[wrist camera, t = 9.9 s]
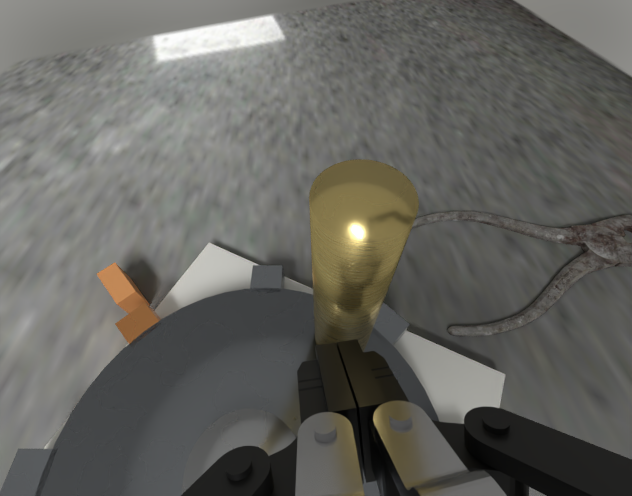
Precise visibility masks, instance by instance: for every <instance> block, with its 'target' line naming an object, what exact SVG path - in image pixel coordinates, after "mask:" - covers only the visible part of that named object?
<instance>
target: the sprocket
mask: <svg viewBox="0 0 632 496" xmlns="http://www.w3.org/2000/svg"><path fill="white" fill-rule="evenodd" d="M309 202H310V226H311V251H312V275H313V295H312V294H309V293H306V292H300V291H295V290H289V289H284V279H285V276H284V271H283V266H282V265H253V268H252V276H251V284H250V289H241V290H235V291H230V292H224V293H221V294H218V295H214V296H211V297H207V298H204V299H202V300H199V301H197V302H194V303H192V304H190V305H187V306H185V307H183V308H181V309H179V310H177V311H175V312H174V313H172V314H170V315H168V316H166V317H164V318H163V319H160V317H159V316H158V315H157V313H156V312H155V311H154V310H153V309H151V308H150V307H149V306H148V305H147V304H146V303H143V304H142V305H141V306H139V307H138V308H137V309H135V310H134V311H132V312H131V313H130V314H128V315H127V316H126V317H124V318H123V319H121V320H120V321H119V322H117V323H116V326H117V327H118V329H119V330H120V332H121V333H122V334H123V336H124V337H125V339H126V340H127V342H128V343H129V344H128V345H127V346H126V347H125V348H124V349H123V350H122V351H121V352H120V353H119V354H118V355H117V356H116V357H115V358H114V359H113V360H112V361H111V362H110V363H109V364H108V365H107V366H106V367H105V368H104V369H103V371H102V372H101V373H100V374H99V376H98V377H97V378H96V379H95V381H94V382H93V383H92V384H91V385H90V387H89V388H88V389H87V391H86V392H85V394H84V395H83V397H82V398H81V400H80V401H79V403H78V404H77V406H76V407H75V409H74V410H73V411H72V413H71V415H70V416H69V418H68V420H67V422H66V424H65V426H64V427H63V429H62V431H61V433H60V435H59V437H58V438H57V440H56V442H55V445H54V447H53V449H18V451H17V453H16V456H15V458H14V461H13V463H12V465H11V468H10V470H9V472H8V475H7V477H6V480H5V482H4V484H3V487H2V489H1V491H0V496H181V495H182V494H183V493H184V492H185V491H186V490H187V489H188V488H189V487H190V486H191V485H192V484H193V483H194V482H195V481H196V480H197V479H198V478H199V477H200V476H201V475H202V474H204V473H205V472H206V471H207V470H208V469H209V468H210V467H211V466H212V465H213V464H214V463H215V462H216V461H217V460H218V459H219V458H220V457H221V456H222V455H224V454H225V453H227V452H228V451H230V450H232V449H235V448H237V447H241V446H257V447H259V448H261V449H263V450H264V451H265V452H266V453H267V454H268V456H270V455H272V454H274V453H276V452H278V451H280V450H282V449H284V448H286V447H287V446H289V445H290V444H291V443H292V442H293V441H294V440H295V439H296V437H297V436H298V430H299V428H300V426H301V418H300V405H299V392H298V378H297V370H298V369H299V367H300V365H301V363H302V362H304V361H311V360H317V358H316V350H315V345H320V344H327V343H334V342H335V343H337V342H340V341H347V340H353V339H357V340H358V342H359V344H360V347H361V349H362V351H363V352H369V351H375V352H377V353H378V354H380V355H381V356H383V357H384V358H385V360H386V362H387V363H388V365H389V368H390V369H391V370H392V372H393V374H394V376H395V377H396V379H397V381H398V383H399V384H400V386H401V388H402V390H403V391H404V393H405V395H406V397H407V398H408V400H409V402H410V403H413V404H415V405H417V406H419V407H420V408H422V409H423V410H424V411H425V412H426V414H427V415H428V416H429V418H430V419H432V420H435V421H439V419H438V416H437V414H436V412H435V410H434V407H433V405H432V403H431V401H430V399H429V397H428V395H427V393H426V391H425V389H424V387H423V386H422V384H421V383H420V381H419V379H418V378H417V376H416V375H415V373H414V371H413V370H412V368H411V367H410V366H409V364H408V363H407V362H406V361H405V359H404V358H403V357H402V356H401V354H400V353H399V352H398V350H397V349H396V348H395V347H394V344H395V343H396V342H397V341H398V340H399V339H400V338H401V337H402V335H403V334H404V333H405V331H406V330H407V328H408V327H409V325H410V324H409V323H408V322H406V321H405V320H404V319H403V318H402V317H401V316H399V315H398V314H397V313H396V312H395V311H393V310H392V309H391V308H390V307H389V306H387V305H386V304H385V303H383V301H384V298H385V296H386V293H387V291H388V288H389V285H390V283H391V280H392V278H393V275H394V272H395V270H396V267H397V265H398V262H399V259H400V257H401V254H402V252H403V249H404V246H405V244H406V241H407V239H408V236H409V233H410V231H411V228H412V226H413V223H414V220H415V218H416V215H417V212H418V207H419V200H418V195H417V192H416V190H415V188H414V186H413V184H412V183H411V181H410V180H409V179H408V178H407V177H406V176H405V175H404V174H403V173H401V172H400V171H398V170H397V169H395V168H393V167H391V166H389V165H387V164H384V163H381V162H377V161H372V160H349V161H344V162H340V163H337V164H335V165H333V166H331V167H329V168H327V169H326V170H324V171H323V172H322V173H321V174H320V175H319V176H318V177H317V178H316V179H315V181H314V182H313V185H312V187H311V190H310V196H309ZM439 422H440V421H439ZM363 479H364V484H363V490H364V495H365V496H380V494H379V489H378V486H377V483H376V481H374V482H368V483H366V480H365V476H364V473H363Z"/></svg>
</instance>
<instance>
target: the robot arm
mask: <svg viewBox="0 0 632 496" xmlns="http://www.w3.org/2000/svg"><path fill="white" fill-rule="evenodd" d="M315 350H316V358H317V360H311V361H304V362H302V363H301V365H300V367H299V369H298V370H297V378H298V392H299V405H300V418H301V426H300V428H299V430H298V436H297V437H296V439H295V440H294V441H293V442H292V443H291V444H290V445H289V446H287V447H286V448H284V449H282V450H280V451H278V452H276V453H274V454H272V455H270V456H268V454H267V453H266V452H265V451H264V450H263V449H261V448H259V447H257V446H241V447H237V448H235V449H232V450H230V451H228V452H227V453H225V454H224V455H222V456H221V457H220V458H219V459H218V460H217V461H216V462H215V463H214V464H213V465H212V466H211V467H210V468H209V469H208V470H207V471H206V472H205V473H204V474H202V475H201V476H200V477H199V478H198V479H197V480H196V481H195V482H194V483H193V484H192V485H191V486H190V487H189V488H188V489H187V490H186V491H185V492H184V493H183V494H182V495H181V496H365V495H364V490H363V484H364V479H363V473H364V476H365V480H366V483H368V482H374V481H376V483H377V486H378V489H379V494H380V496H529V487H531V488H533V489H535V490H537V491H539V492H541V493H543V494H545V495H547V496H632V460H631V459H629V458H626V457H624V456H621V455H619V454H616V453H613V452H611V451H608V450H606V449H603V448H601V447H598V446H596V445H593V444H590V443H588V442H585V441H583V440H580V439H578V438H575V437H573V436H570V435H567V434H565V433H562V432H560V431H557V430H555V429H552V428H549V427H547V426H544V425H542V424H539V423H537V422H534V421H532V420H529V419H526V418H524V417H521V416H519V415H516V414H514V413H511V412H509V411H506V410H503V409H500V408H496V407H487V406H484V407H477V408H474V409H471V410H470V411H468V412H467V413H466V415H465V417H464V424H460V423H447V422H439V421H435V420H432V419H430V418H429V416H428V415H427V414H426V412H425V411H424V410H423V409H422V408H420V407H419V406H417V405H415V404H413V403H410V402H409V400H408V398H407V397H406V395H405V393H404V391H403V390H402V388H401V386H400V384H399V383H398V381H397V379H396V377H395V376H394V374H393V372H392V370H391V369H390V368H389V365H388V363H387V362H386V360H385V358H384V357H383V356H381V355H380V354H378V353H377V352H375V351H369V352H363V351H362V349H361V347H360V344H359V342H358V340H357V339H353V340H347V341H340V342H337V343H335V342H334V343H327V344H320V345H315Z"/></svg>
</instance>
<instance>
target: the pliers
mask: <svg viewBox="0 0 632 496" xmlns="http://www.w3.org/2000/svg"><path fill="white" fill-rule="evenodd" d="M452 220H465V221H474V222H481V223H485V224H489V225H493V226H497V227H501V228H504V229H508V230H511V231H515V232H518V233H521V234H524V235H528V236H531V237H535V238H538V239H542V240H547V241H552V242H557V243H564V244H571V245H578V246H581V248H582V249H583V251H584V252H585V253H584V254H582V255H580V256H579V257H577V258H576V259H574V260H573V261H572V262H570V263H569V264H568V265H567V266H565V267H564V268H563V269H562V270H561V271H560V272H559V273H558V274H557V275H556V276H555V278H554V279H553V280H552V281H551V283H550V284H549V285H548V287H547V288H546V289H545V290H544V291H543V292H542V294H541V295H540V296H539V297H538V298H537V299H536V300H535V301H534V302H533V303H532V304H531V305H530V306H529V307H528V308H527V309H525V310H524V311H522V312H521V313H519V314H517V315H515V316H513V317H510V318H508V319H505V320H502V321H498V322H494V323H491V324H484V325H475V326H450V327H449V328H448V329H447V331H448V333H450V334H451V335H456V336H484V335H493V334H497V333H502V332H506V331H510V330H513V329H516V328H519V327H522V326H524V325H526V324H528V323H530V322H532V321H533V320H535V319H537V318H538V317H540V316H541V315H542V314H543V313H544V312H546V311H547V310H548V309H549V308H550V307H551V306H552V305H553V304H554V303H555V302H556V301H557V300H558V299H559V298H560V297H561V296H562V295H563V294H564V293H565V292H566V291H567V290H568V289H569V288H570V287H571V286H572V285H573V284H574V283H575V282H576V281H577V280H579V279H580V278H581V277H583V276H584V275H586V274H588V273H591V272H593V271H598V270H601V269H605V268H609V267H612V266H632V243H627V242H626V241H625V240H624V239H623V237H624V236H625V233H624V231H623V230H628V231H630V232H632V215H620V216H617V217H613V218H609V219H605V220H602V221H599V222H596V223H593V224H591V225H577V226H571V227H569V228H552V227H546V226H540V225H535V224H531V223H526V222H522V221H518V220H514V219H510V218H505V217H501V216H497V215H493V214H487V213H481V212H471V211H452V212H442V213H435V214H430V215H425V216H422V217H418V218H415V220H414V223H413V226H412V228H415V227H418V226H422V225H425V224H428V223H434V222H439V221H452Z"/></svg>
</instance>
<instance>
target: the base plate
mask: <svg viewBox="0 0 632 496" xmlns="http://www.w3.org/2000/svg"><path fill="white" fill-rule="evenodd" d="M253 265H258V264H256V263H254V262H251V261H249V260H247V259H245V258H242V257H240V256H238V255H236V254H233V253H231V252H229V251H227V250H224V249H222V248H220V247H218V246H215V245H213V244H211V243H208V245H207V246H206V247H205V248H204V250H203V251H202V252H201V253H200V255H199V256H198V257H197V258H196V260H195V261H194V262H193V263H192V264H191V266H190V267H189V268H188V269H187V271H186V272H185V273H184V274H183V276H182V277H181V278H180V279H179V281H178V282H177V283H176V284H175V286H174V287H173V288H172V289H171V291H170V292H169V293H168V294H167V296H166V297H165V298H164V299H163V301H162V302H161V303H160V304H159V306H158V307H157V308H156V309H155V310H154V311H155V312H156V313H157V315H158V316H159V317H160V319H163V318H164V317H166V316H168V315H170V314H172V313H174V312H175V311H177V310H179V309H181V308H183V307H185V306H187V305H190V304H192V303H194V302H197V301H199V300H202V299H204V298H207V297H211V296H214V295H218V294H221V293H224V292H230V291H235V290H241V289H250V284H251V276H252V268H253ZM97 275H98V277H99V278H100V280H101V281H102V283H103V284H104V286H105V287H106V289H107V290H108V292H109V293H110V295H111V296H112V298H113V299H114V301H115V302H116V304H117V305H119V306H120V307H121V308H122V309H124V310H125V311H126V312H127V313H129V314H130V313H131V312H132V311H134V310H135V309H137V308H138V307H139V306H141V305H142V304H143V303H146V304H147V305H148V306H149V305H150V304H149V303H148V301H147V300H146V299H145V297H144V296H143V295H142V293H141V292H140V290H139V289H138V288H137V286H136V285H135V284H134V282H133V281H132V279H131V278H130V277H129V276H128V275H127V274H126V273H125V272H124V271H123V270H122V269H121V268H120V267H119V266H118V265H117V264H116V263H113V264H111V265H110V266H108V267H107V268H105V269H104V270H102V271H100V272H99V273H97ZM284 289H289V290H295V291H300V292H306V293H309V294H312V295H313V289H312V288H310V287H307V286H305V285H303V284H301V283H299V282H296V281H294V280H292V279H290V278H287V277H285V279H284ZM128 344H129V343H128ZM128 344H127V345H128ZM127 345H126V346H127ZM394 347H395V348H396V349H397V350H398V352H399V353H400V354H401V356H402V357H403V358H404V359H405V361H406V362H407V363H408V364H409V366H410V367H411V368H412V370H413V371H414V373H415V375H416V376H417V378H418V379H419V381H420V383H421V384H422V386H423V387H424V389H425V391H426V393H427V395H428V397H429V399H430V401H431V403H432V405H433V407H434V410H435V412H436V414H437V416H438V419H439V421H440V422H447V423H460V424H464V417H465V415H466V413H467V412H468V411H470V410H471V409H474V408H477V407H484V406H487V407H496V408H499V407H500V402H501V396H502V391H503V385H504V379H505V374H503V373H501V372H499V371H496V370H494V369H492V368H490V367H487V366H485V365H483V364H481V363H478V362H476V361H474V360H472V359H469V358H467V357H465V356H463V355H460V354H458V353H456V352H454V351H451V350H449V349H447V348H445V347H442V346H440V345H438V344H436V343H433V342H431V341H429V340H427V339H424V338H422V337H420V336H418V335H415V334H413V333H411V332H409V331H405V333H404V334H403V335H402V337H401V338H400V339H399V340H398V341H397V342H396V343H395V344H394ZM68 418H69V417H68ZM67 420H68V419H67ZM67 420H66V421H65V422H64V424H63V425H62V426H61V427H60V429H59V430H58V431H57V432H56V434H55V435H54V436H53V437H52V439H51V440H50V441H49V442H48V444H47V445H46V446H45V447H44V448H43V449H53V447H54V445H55V442H56V440H57V438H58V437H59V435H60V433H61V431H62V429H63V427H64V426H65V424H66V422H67Z"/></svg>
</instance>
